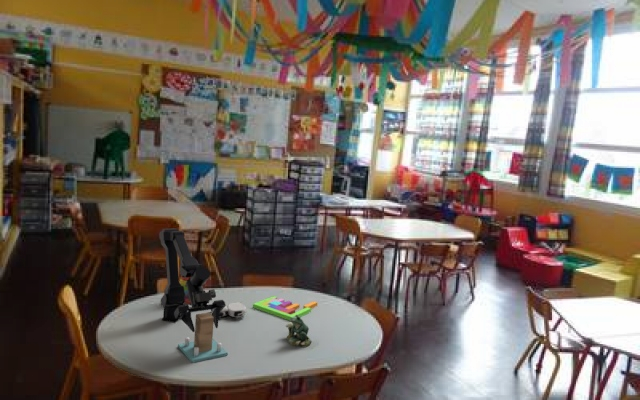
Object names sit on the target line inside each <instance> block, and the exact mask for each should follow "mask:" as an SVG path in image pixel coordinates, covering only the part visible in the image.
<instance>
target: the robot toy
mask: <svg viewBox="0 0 640 400" xmlns="http://www.w3.org/2000/svg"><path fill="white" fill-rule="evenodd" d="M246 310H247V308H246V305H245V304H243V301H240V302H230V303H229V304H228V305H226V306H225V307H224V308H223V309H222V311H220V313H219V318H222V317H225V316H228V315H229V316H230V317H234V318H238V319H239V318H241V317H243V316H245V315H246V314H247V311H246Z"/></svg>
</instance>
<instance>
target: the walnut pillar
mask: <svg viewBox="0 0 640 400" xmlns="http://www.w3.org/2000/svg"><path fill="white" fill-rule="evenodd" d="M211 314H212V313H210V312H203V313H196V314H195V324H194V329H195V331H194V340H193V341H194V348H195V347H198V348H199V352H203V351H208V350H212V338H213V335H214V334H213V333H214V317H213V316H212V315H211Z"/></svg>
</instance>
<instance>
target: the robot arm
mask: <svg viewBox="0 0 640 400" xmlns="http://www.w3.org/2000/svg"><path fill="white" fill-rule="evenodd" d="M158 237H159V240H160V245H161V246H162V247H163V249H164V250H165V262H166V275H167V276H166V279H167V284H166V285H165V288H164V289H163V290H164V294H163V295H162V296H161V298H160V305H161V306H162V307H163V315H162V318H161V321H162V322H163V321H164V322H173V323H177V322H178V321H179V320H181V321H182V322H183V323H184V324H186V326H187V327H188V329H190V331H191V332H192V333H195V324H194V322H193V319H192V313H195V312H204V311H209V310H210V312H211V313H210V314H211V315H212V316H213V317H214V322H213V326H214V327H215V329H218V327H219V320H220V319H219V318H220V317H219V313H220V311H222V309H223V308H224V307H225V306H226V307H227V305H226V301H225V300H223V299H217V300H214V301H213V299H214V298H216V297H217V295H216V290H215V288H214V289H208V291H206V290H204V288H203V286H204V285H205V284H206V282H207V281H208V280H209V279H210V277H211V271H210V269H208V268H207V267H205V266H204V265H203V264H200V263H199V261H198V260H197V259H196V258H195V257H194V256H192V253H191V250H190V248H189V245H188V243H187V241H186V237H185V232H184V231H183V230H179V229H178V228H176V227H175V228H162V229H161V231H159V233H158ZM178 258H179V261H180V262H179V261H178ZM179 263H180V264H179ZM180 277H184V278H188V277H191V278H189V279H188V280H187V282H186V284H185V287H187V290H188V294H189V298H188V299H189V301H190V302H191V304H190V306H191V307H190V306H189V304H185V303H184V302H185V297H186V295H185V293H184V287H183V286H182V285H181V284H180V283H179V281H180ZM210 301H213V302H212V303H211V304H209V303H210Z"/></svg>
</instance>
